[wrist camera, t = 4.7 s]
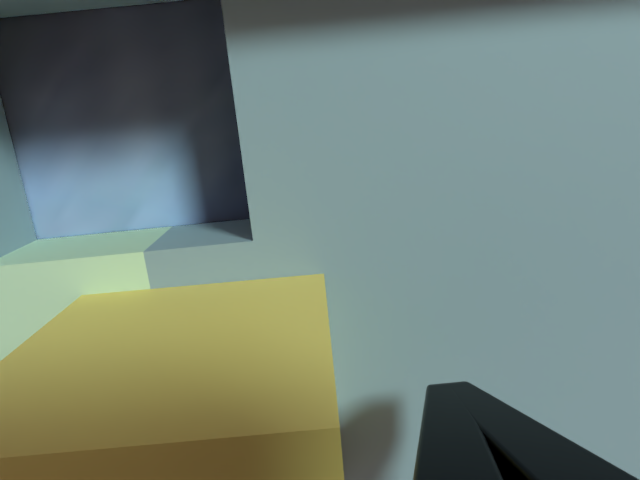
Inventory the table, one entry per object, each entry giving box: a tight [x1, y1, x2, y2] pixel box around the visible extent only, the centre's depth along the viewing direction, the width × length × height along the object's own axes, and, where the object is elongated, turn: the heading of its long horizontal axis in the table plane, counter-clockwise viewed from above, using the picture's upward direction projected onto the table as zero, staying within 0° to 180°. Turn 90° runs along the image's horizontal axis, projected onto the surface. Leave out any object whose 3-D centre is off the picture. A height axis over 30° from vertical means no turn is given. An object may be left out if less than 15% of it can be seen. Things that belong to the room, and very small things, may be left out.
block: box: [0, 274, 344, 480], centre depth 7 cm, size 4×4×4 cm
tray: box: [0, 0, 640, 480], centre depth 10 cm, size 17×17×4 cm
